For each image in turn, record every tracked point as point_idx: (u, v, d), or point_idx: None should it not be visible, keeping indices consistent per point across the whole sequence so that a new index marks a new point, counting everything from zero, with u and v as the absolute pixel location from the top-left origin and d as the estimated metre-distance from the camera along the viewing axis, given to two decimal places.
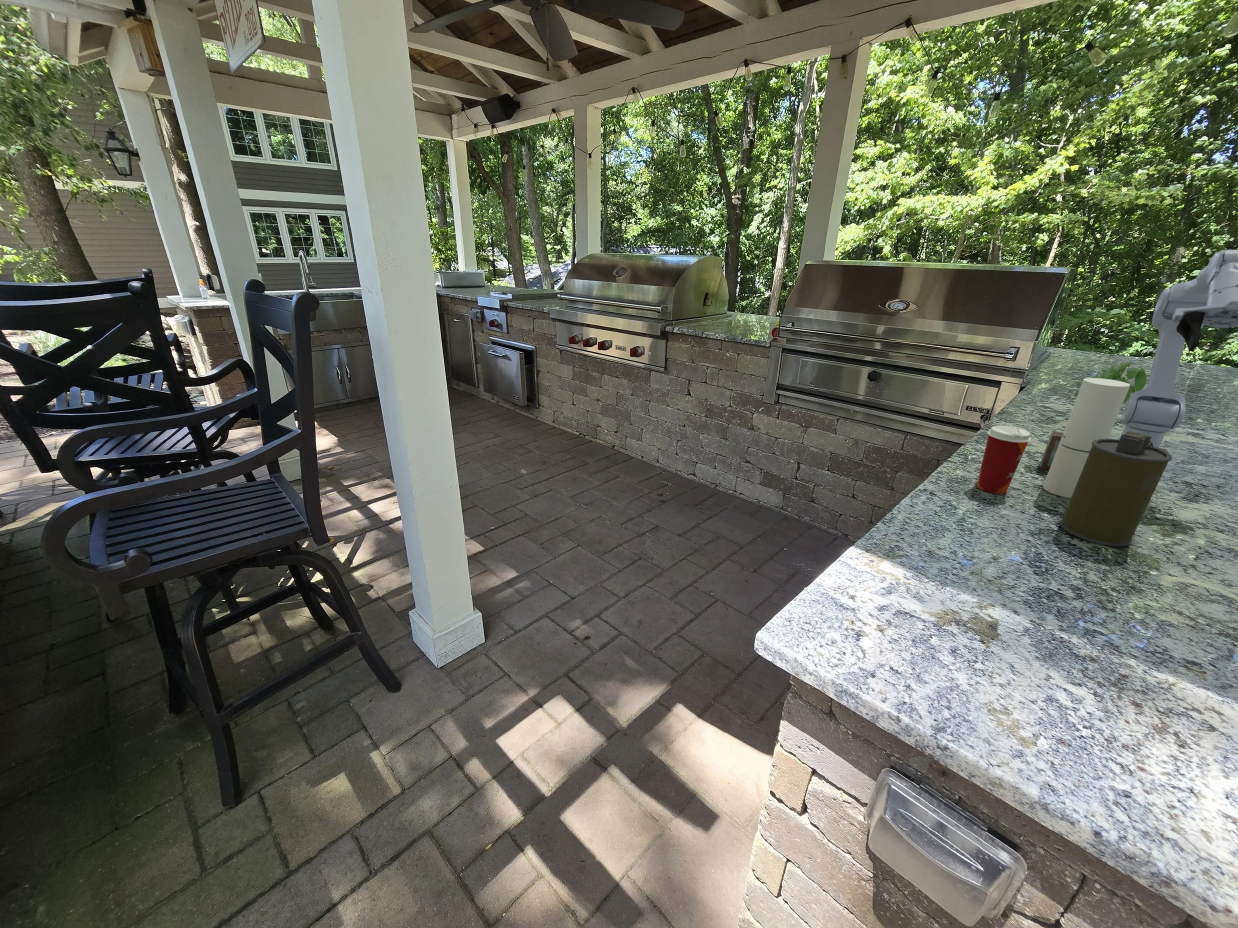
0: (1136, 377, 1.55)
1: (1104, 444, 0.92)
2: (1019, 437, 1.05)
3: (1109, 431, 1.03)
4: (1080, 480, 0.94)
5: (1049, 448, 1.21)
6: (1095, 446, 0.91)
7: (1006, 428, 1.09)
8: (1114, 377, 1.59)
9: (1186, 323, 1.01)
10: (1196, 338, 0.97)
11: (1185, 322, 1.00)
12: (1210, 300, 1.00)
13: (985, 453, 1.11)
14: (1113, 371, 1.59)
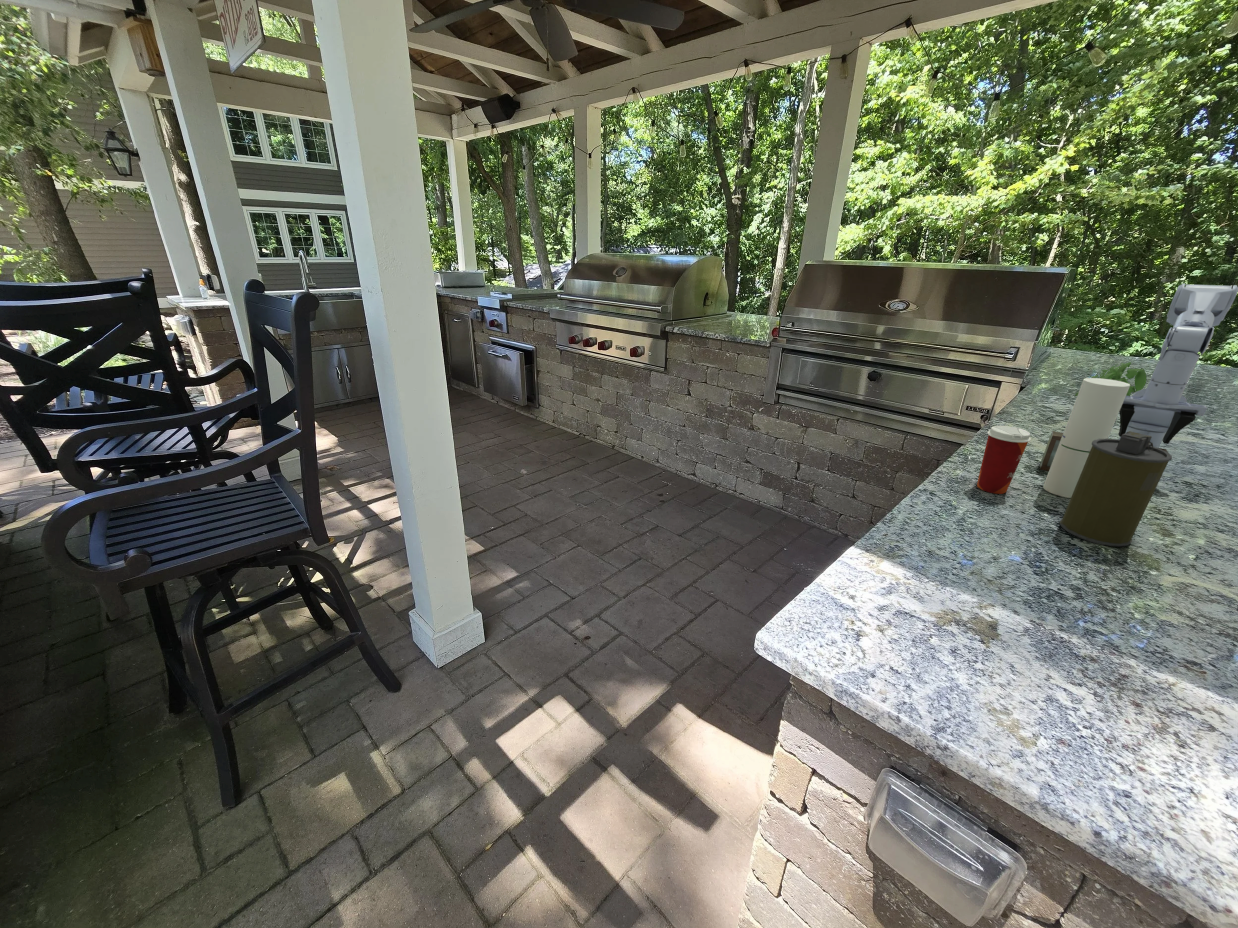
0: (1136, 377, 1.55)
1: (1104, 444, 0.92)
2: (1019, 437, 1.05)
3: (1109, 431, 1.03)
4: (1080, 480, 0.94)
5: (1049, 448, 1.21)
6: (1095, 446, 0.91)
7: (1006, 428, 1.09)
8: (1114, 377, 1.59)
9: None
10: (1123, 431, 1.17)
11: None
12: (1148, 388, 1.12)
13: (985, 453, 1.11)
14: (1113, 371, 1.59)
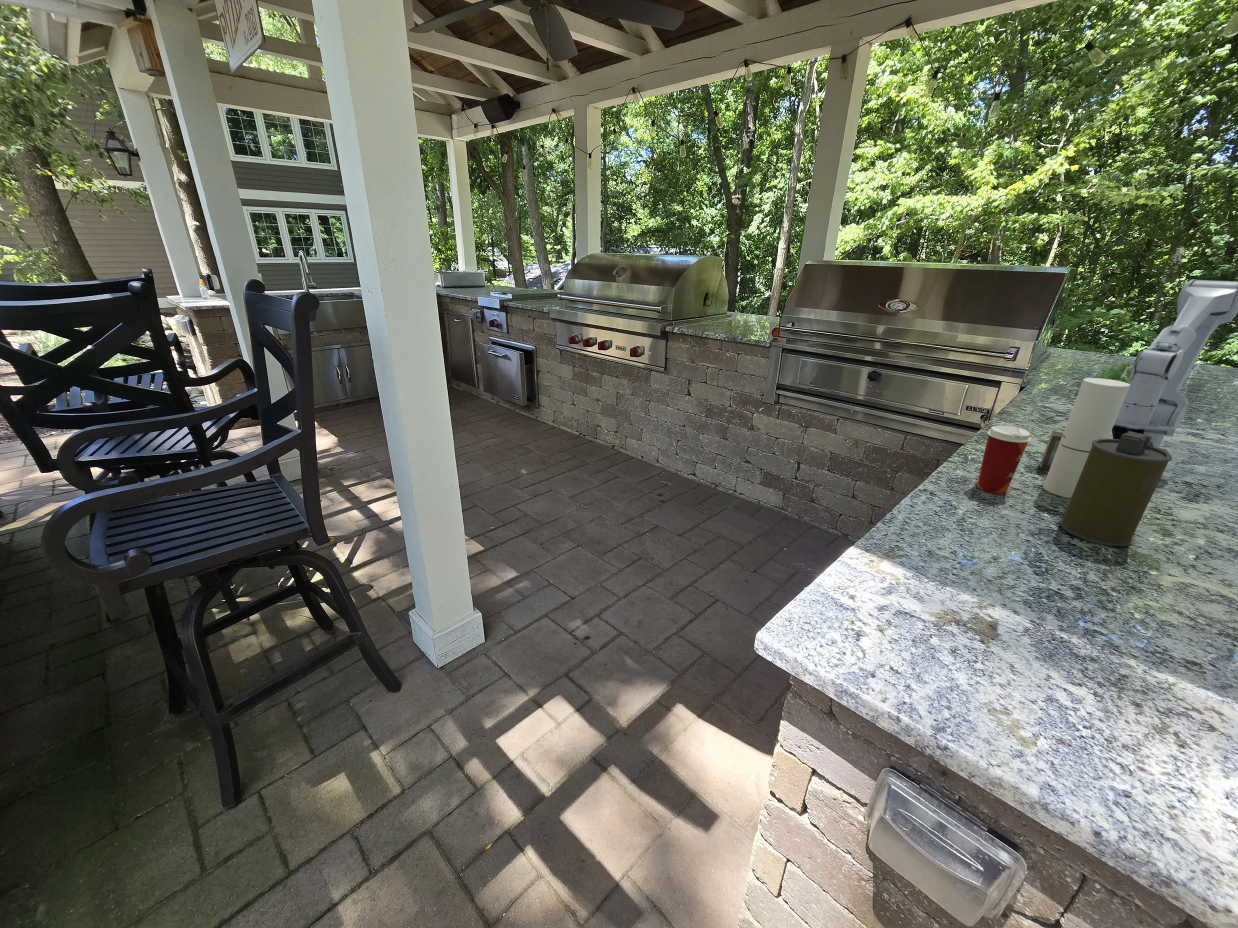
0: None
1: (1104, 444, 0.92)
2: (1019, 437, 1.05)
3: (1109, 431, 1.03)
4: (1080, 480, 0.94)
5: (1049, 448, 1.21)
6: (1095, 446, 0.91)
7: (1006, 428, 1.09)
8: (1114, 377, 1.59)
9: None
10: None
11: None
12: (1120, 409, 1.16)
13: (985, 453, 1.11)
14: (1113, 371, 1.59)
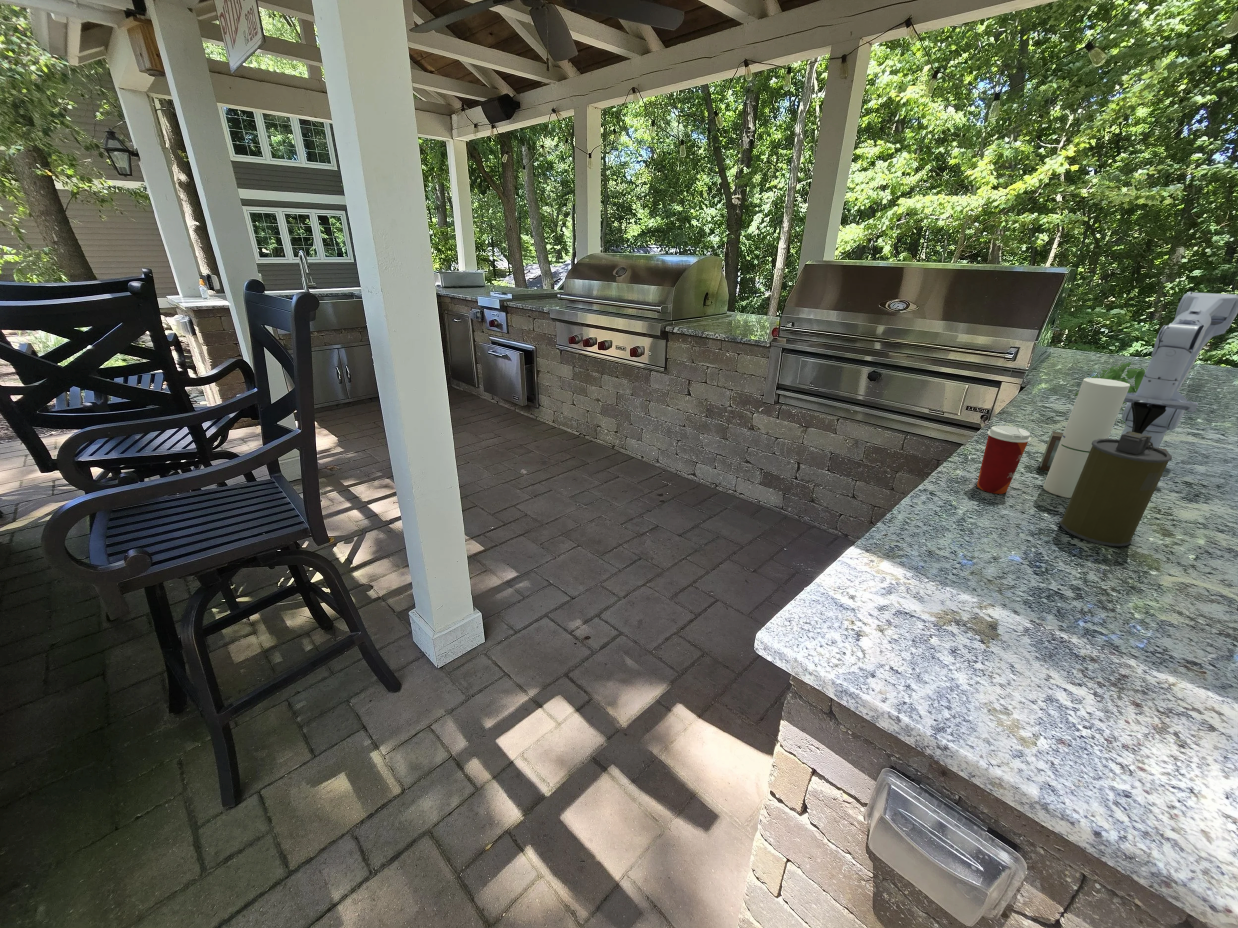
0: (1136, 377, 1.55)
1: (1104, 444, 0.92)
2: (1019, 437, 1.05)
3: (1109, 431, 1.03)
4: (1080, 480, 0.94)
5: (1049, 448, 1.21)
6: (1095, 446, 0.91)
7: (1006, 428, 1.09)
8: (1114, 377, 1.59)
9: None
10: (1136, 430, 1.17)
11: None
12: (1142, 384, 1.15)
13: (985, 453, 1.11)
14: (1113, 371, 1.59)
